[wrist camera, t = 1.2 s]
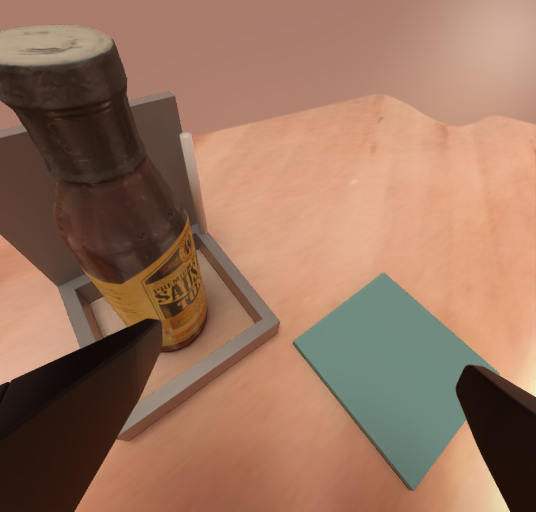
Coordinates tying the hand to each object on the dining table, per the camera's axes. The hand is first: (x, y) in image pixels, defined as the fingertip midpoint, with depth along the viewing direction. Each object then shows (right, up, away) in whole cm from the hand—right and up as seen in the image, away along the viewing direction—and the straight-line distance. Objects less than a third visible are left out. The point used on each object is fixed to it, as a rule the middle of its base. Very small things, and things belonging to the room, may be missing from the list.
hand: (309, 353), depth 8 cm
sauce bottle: (-10, -3, +16) cm, 19 cm away
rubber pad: (+9, -6, +15) cm, 19 cm away
